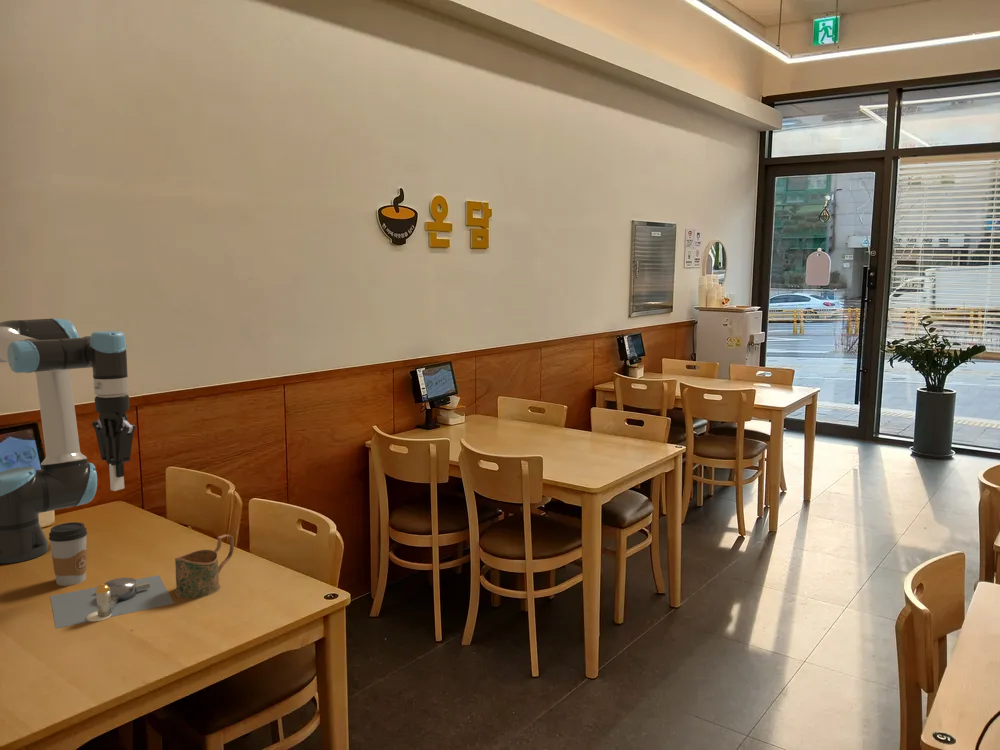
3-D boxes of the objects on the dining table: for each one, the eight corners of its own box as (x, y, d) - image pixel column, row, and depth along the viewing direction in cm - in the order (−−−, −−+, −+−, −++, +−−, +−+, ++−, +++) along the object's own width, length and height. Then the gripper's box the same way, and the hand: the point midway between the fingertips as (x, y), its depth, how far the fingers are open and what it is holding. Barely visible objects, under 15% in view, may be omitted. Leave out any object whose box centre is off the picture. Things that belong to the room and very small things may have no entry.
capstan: (99, 590, 187) (97, 561, 186) (151, 587, 189) (149, 559, 188) (73, 620, 171) (71, 589, 170) (131, 616, 173) (129, 585, 172)
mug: (251, 581, 197) (249, 535, 195) (197, 607, 181) (195, 558, 179) (216, 573, 202) (214, 528, 200) (161, 599, 186) (159, 550, 184)
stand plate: (50, 600, 184) (50, 594, 184) (159, 579, 197) (158, 573, 197) (56, 635, 167) (56, 628, 167) (175, 609, 180) (174, 603, 180)
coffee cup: (74, 593, 189) (69, 533, 187) (44, 590, 191) (39, 531, 189) (98, 579, 197) (94, 522, 195) (69, 577, 199) (65, 520, 197)
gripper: (79, 395, 188) (86, 489, 191) (115, 399, 182) (121, 496, 185) (107, 390, 195) (113, 482, 198) (143, 394, 189) (148, 489, 192)
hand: (117, 489), depth 191 cm, fingers closed
